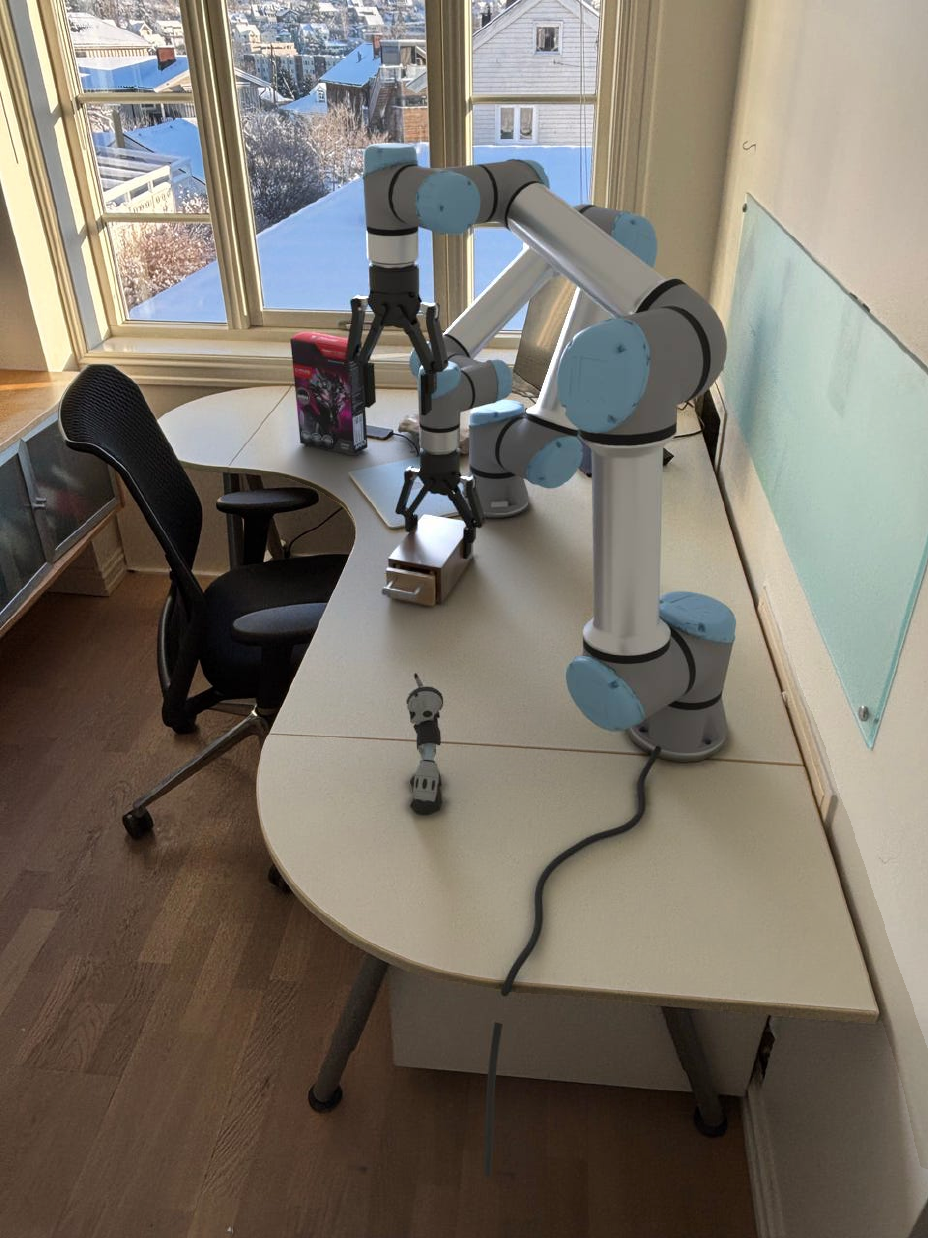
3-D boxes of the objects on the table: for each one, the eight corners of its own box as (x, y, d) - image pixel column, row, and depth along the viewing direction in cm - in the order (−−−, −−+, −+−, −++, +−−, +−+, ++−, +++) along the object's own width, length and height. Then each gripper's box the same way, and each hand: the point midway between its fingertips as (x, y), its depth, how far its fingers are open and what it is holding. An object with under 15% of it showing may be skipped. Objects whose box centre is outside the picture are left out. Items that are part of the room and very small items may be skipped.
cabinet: (441, 604, 173) (441, 567, 168) (389, 594, 175) (388, 558, 171) (472, 556, 187) (473, 522, 183) (424, 548, 190) (424, 514, 186)
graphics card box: (297, 444, 233) (287, 336, 218) (313, 435, 239) (304, 329, 223) (354, 457, 227) (347, 347, 212) (369, 447, 232) (364, 339, 217)
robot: (446, 845, 123) (445, 731, 112) (409, 846, 123) (405, 732, 112) (441, 747, 139) (440, 638, 128) (409, 747, 139) (405, 639, 128)
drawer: (423, 621, 166) (422, 593, 163) (375, 611, 169) (374, 584, 165) (464, 561, 184) (464, 535, 181) (420, 553, 186) (420, 527, 183)
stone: (382, 437, 229) (387, 414, 227) (402, 429, 243) (406, 406, 240) (461, 462, 226) (467, 438, 223) (477, 452, 239) (482, 429, 237)
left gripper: (504, 448, 171) (501, 551, 183) (390, 431, 177) (394, 532, 189) (492, 463, 165) (489, 570, 177) (374, 446, 171) (379, 549, 183)
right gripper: (471, 262, 135) (469, 408, 148) (337, 250, 141) (346, 392, 154) (454, 274, 130) (454, 425, 142) (315, 261, 135) (326, 407, 148)
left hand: (440, 550), depth 183 cm, fingers closed on cabinet, 10 cm apart
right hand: (398, 408), depth 148 cm, fingers open, 9 cm apart
